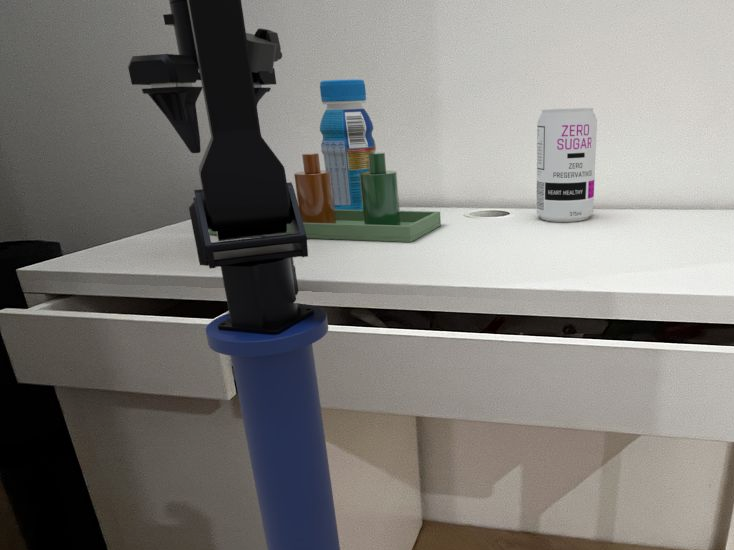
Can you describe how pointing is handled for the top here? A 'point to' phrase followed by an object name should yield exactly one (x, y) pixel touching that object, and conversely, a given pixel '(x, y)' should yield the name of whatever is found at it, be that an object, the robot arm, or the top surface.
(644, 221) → the top surface
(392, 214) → the green bottle
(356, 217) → the tray
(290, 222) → the robot arm
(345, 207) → the beverage bottle
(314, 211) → the amber bottle near
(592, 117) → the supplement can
